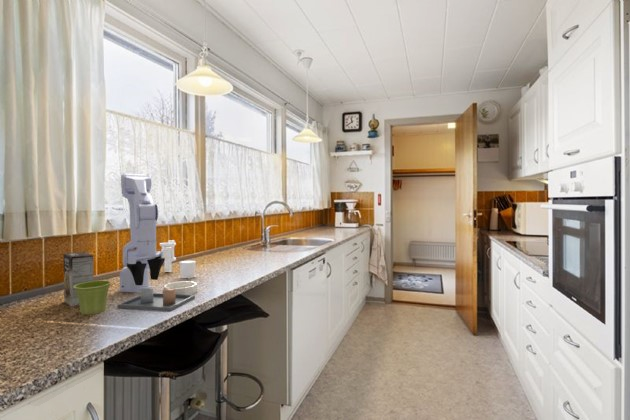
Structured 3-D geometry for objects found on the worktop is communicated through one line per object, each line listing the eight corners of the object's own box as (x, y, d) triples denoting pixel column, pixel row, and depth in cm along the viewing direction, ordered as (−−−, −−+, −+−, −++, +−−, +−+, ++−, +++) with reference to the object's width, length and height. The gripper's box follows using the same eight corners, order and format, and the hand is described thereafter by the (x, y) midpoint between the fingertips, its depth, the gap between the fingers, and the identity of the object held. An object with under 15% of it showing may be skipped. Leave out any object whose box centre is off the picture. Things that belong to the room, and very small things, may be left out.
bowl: (157, 296, 118) (157, 287, 118) (175, 288, 129) (175, 280, 129) (186, 298, 116) (186, 289, 116) (202, 290, 127) (202, 281, 127)
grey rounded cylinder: (137, 303, 109) (137, 289, 109) (145, 299, 113) (145, 286, 112) (148, 304, 108) (148, 290, 108) (156, 300, 112) (155, 287, 112)
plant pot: (83, 320, 95) (82, 289, 95) (68, 314, 100) (67, 285, 100) (117, 311, 103) (117, 282, 103) (101, 305, 108) (101, 279, 108)
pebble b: (160, 304, 107) (160, 290, 107) (167, 301, 111) (167, 287, 111) (171, 305, 107) (171, 291, 107) (177, 301, 111) (177, 288, 110)
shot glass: (190, 279, 145) (190, 263, 145) (176, 278, 147) (176, 262, 146) (199, 275, 152) (198, 260, 152) (185, 275, 153) (185, 259, 153)
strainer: (179, 271, 161) (179, 240, 161) (167, 274, 155) (166, 241, 155) (168, 270, 164) (168, 239, 164) (156, 272, 158) (156, 241, 158)
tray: (117, 309, 104) (117, 304, 104) (147, 296, 118) (147, 292, 118) (170, 312, 101) (170, 307, 101) (194, 299, 115) (194, 295, 115)
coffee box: (63, 301, 112) (62, 253, 112) (85, 297, 117) (85, 251, 116) (71, 307, 106) (70, 256, 106) (94, 303, 111) (93, 254, 110)
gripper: (142, 243, 102) (142, 288, 102) (170, 238, 116) (171, 277, 117) (121, 243, 103) (122, 287, 104) (152, 238, 118) (152, 277, 118)
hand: (146, 282), depth 110 cm, fingers open, 7 cm apart
